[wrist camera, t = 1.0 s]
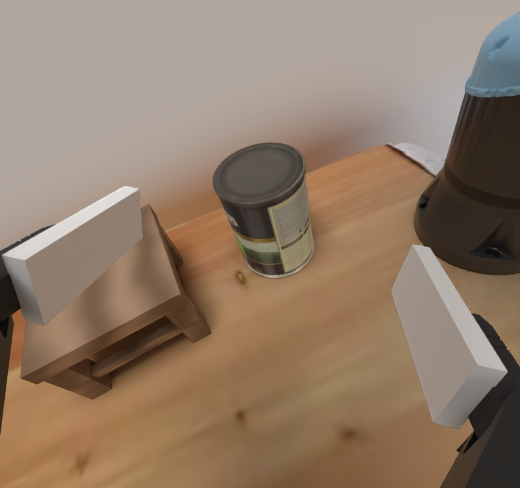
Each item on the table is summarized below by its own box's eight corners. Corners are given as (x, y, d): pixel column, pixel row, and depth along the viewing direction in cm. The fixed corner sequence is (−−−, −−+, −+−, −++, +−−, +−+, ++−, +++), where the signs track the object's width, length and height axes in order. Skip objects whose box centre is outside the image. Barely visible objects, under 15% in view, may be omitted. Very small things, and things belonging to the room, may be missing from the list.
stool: (180, 250, 47) (149, 204, 40) (214, 334, 37) (180, 293, 30) (83, 299, 45) (30, 261, 38) (90, 403, 35) (20, 378, 28)
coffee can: (249, 287, 40) (214, 213, 30) (240, 232, 47) (210, 156, 36) (324, 268, 40) (316, 185, 29) (305, 215, 46) (292, 132, 36)
